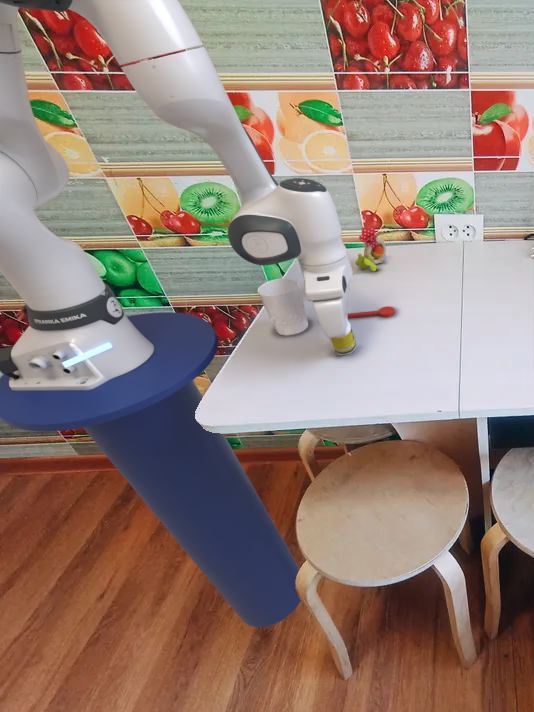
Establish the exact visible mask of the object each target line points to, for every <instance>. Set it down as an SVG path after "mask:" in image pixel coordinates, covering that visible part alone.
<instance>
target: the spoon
mask: <svg viewBox="0 0 534 712" xmlns="http://www.w3.org/2000/svg"><path fill="white" fill-rule="evenodd" d="M395 314H396V311H395V308H394V307H393V306H388V305H387V306H383V307H381V308H378V310H371V311H362V312H361V311H360V312H352V313H348V319H356V318H366V317H376V316H380V317H382V318H389V317H392V316H394V315H395Z"/></svg>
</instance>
